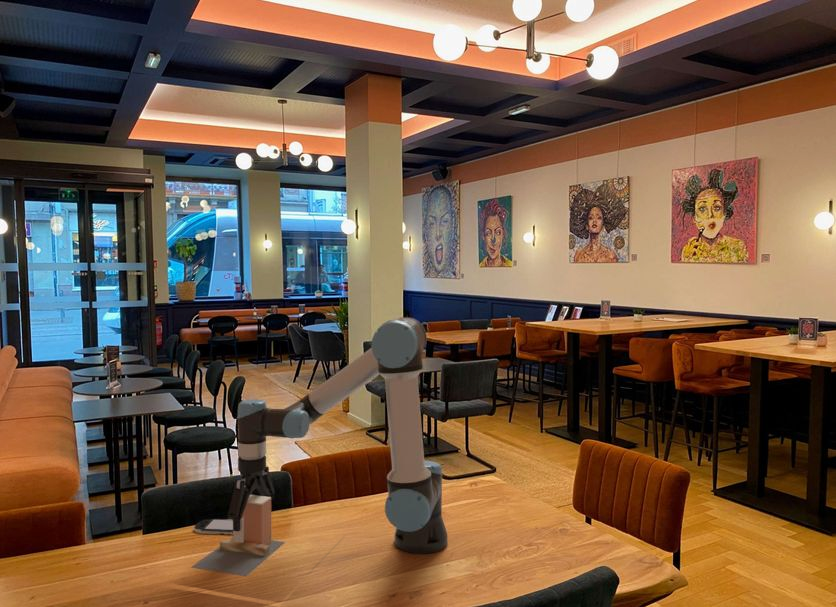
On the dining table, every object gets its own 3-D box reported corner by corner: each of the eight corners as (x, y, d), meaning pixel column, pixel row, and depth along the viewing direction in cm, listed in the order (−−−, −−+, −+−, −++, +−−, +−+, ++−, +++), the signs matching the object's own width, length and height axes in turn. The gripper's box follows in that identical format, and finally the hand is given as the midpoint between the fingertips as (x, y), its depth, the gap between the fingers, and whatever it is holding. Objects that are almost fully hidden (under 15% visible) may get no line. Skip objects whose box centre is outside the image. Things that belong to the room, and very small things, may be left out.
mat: (285, 545, 168) (285, 542, 168) (246, 579, 149) (246, 576, 149) (235, 537, 173) (235, 535, 173) (191, 570, 153) (191, 567, 153)
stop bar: (269, 552, 162) (269, 545, 162) (265, 555, 160) (265, 548, 160) (224, 545, 166) (224, 538, 166) (220, 549, 164) (219, 541, 164)
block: (271, 542, 168) (271, 497, 167) (261, 550, 163) (261, 503, 162) (243, 538, 170) (242, 493, 170) (233, 546, 165) (232, 499, 165)
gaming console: (189, 537, 174) (189, 528, 174) (202, 524, 183) (202, 516, 183) (254, 539, 172) (254, 531, 172) (264, 526, 181) (264, 518, 181)
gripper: (263, 442, 178) (263, 512, 179) (213, 468, 155) (213, 548, 155) (286, 445, 176) (286, 515, 177) (238, 471, 152) (238, 552, 153)
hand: (252, 531), depth 166 cm, fingers open, 13 cm apart
